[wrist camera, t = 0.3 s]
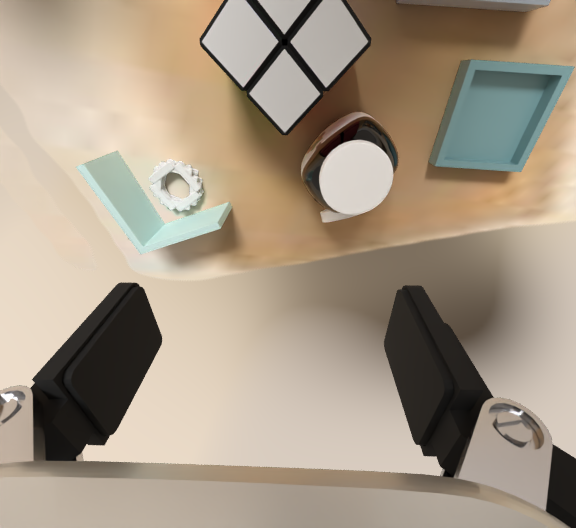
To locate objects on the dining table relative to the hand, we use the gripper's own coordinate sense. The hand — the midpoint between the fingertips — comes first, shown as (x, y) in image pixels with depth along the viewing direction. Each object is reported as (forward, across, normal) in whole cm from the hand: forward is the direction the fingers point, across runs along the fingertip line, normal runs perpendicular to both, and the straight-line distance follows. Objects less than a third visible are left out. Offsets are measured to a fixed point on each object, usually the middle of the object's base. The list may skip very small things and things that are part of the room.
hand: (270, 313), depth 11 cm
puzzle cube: (+31, 0, -10) cm, 32 cm away
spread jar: (+31, -7, +3) cm, 31 cm away
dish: (+30, -23, -3) cm, 38 cm away
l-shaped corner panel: (+31, +16, +4) cm, 35 cm away
